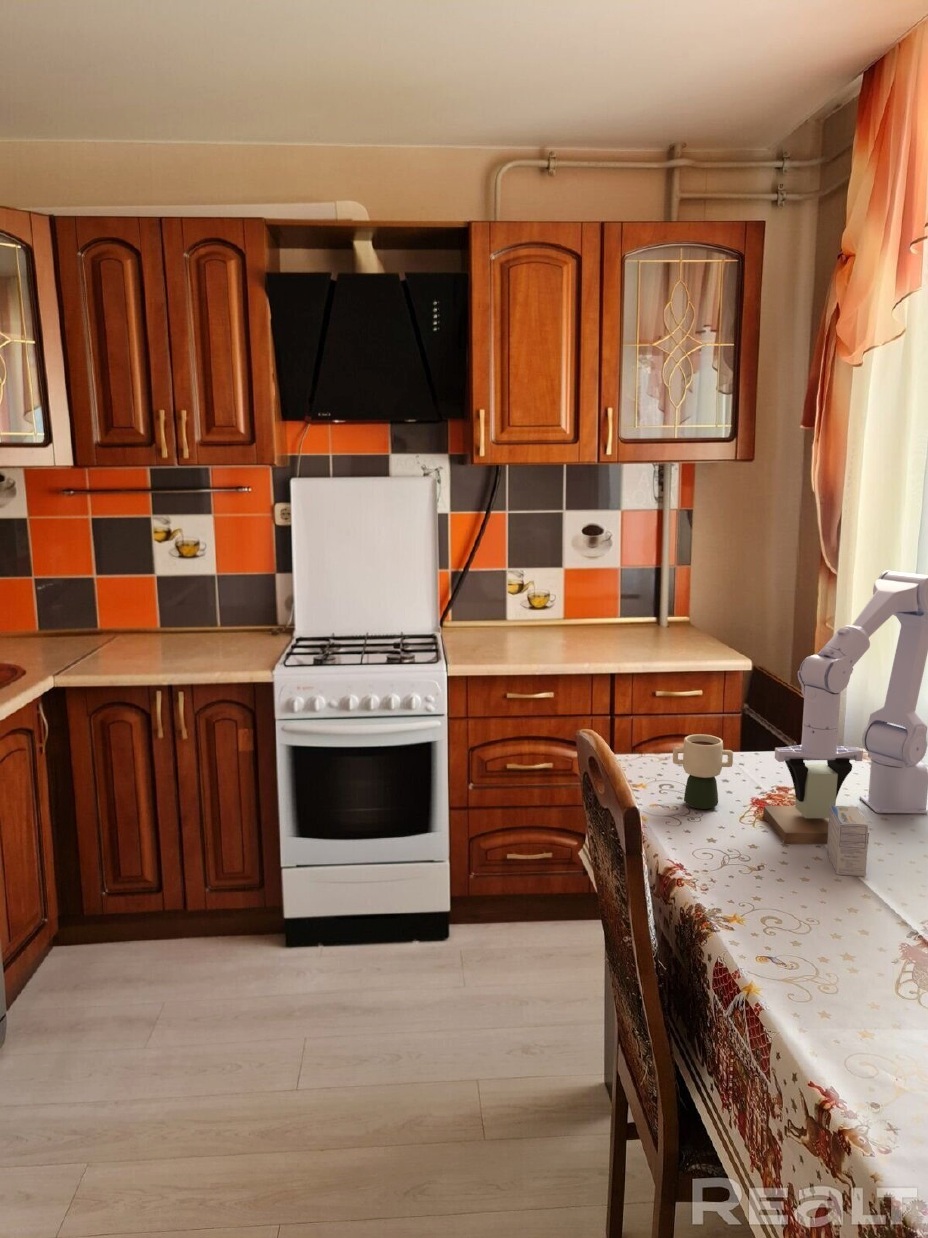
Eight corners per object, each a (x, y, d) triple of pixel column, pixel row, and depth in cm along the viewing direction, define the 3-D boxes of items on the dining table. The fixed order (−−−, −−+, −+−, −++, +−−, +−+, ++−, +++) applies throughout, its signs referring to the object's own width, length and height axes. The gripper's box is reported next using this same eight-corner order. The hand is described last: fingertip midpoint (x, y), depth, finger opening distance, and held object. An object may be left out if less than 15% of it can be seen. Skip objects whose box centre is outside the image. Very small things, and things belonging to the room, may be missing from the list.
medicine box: (866, 878, 138) (870, 825, 136) (835, 875, 139) (839, 823, 137) (854, 856, 145) (858, 806, 144) (825, 854, 146) (829, 804, 145)
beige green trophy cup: (729, 800, 169) (732, 735, 167) (732, 815, 162) (735, 747, 160) (670, 796, 172) (672, 732, 169) (671, 810, 165) (673, 744, 162)
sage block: (823, 807, 158) (825, 764, 156) (834, 818, 153) (837, 774, 151) (795, 807, 158) (797, 764, 156) (805, 818, 153) (808, 774, 151)
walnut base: (840, 816, 161) (840, 806, 161) (868, 844, 150) (869, 833, 149) (763, 816, 162) (763, 805, 161) (784, 844, 150) (785, 832, 150)
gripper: (852, 717, 156) (847, 790, 159) (770, 718, 156) (766, 791, 159) (870, 729, 149) (864, 805, 152) (784, 730, 149) (780, 806, 152)
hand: (815, 799), depth 155 cm, fingers closed on sage block, 5 cm apart
